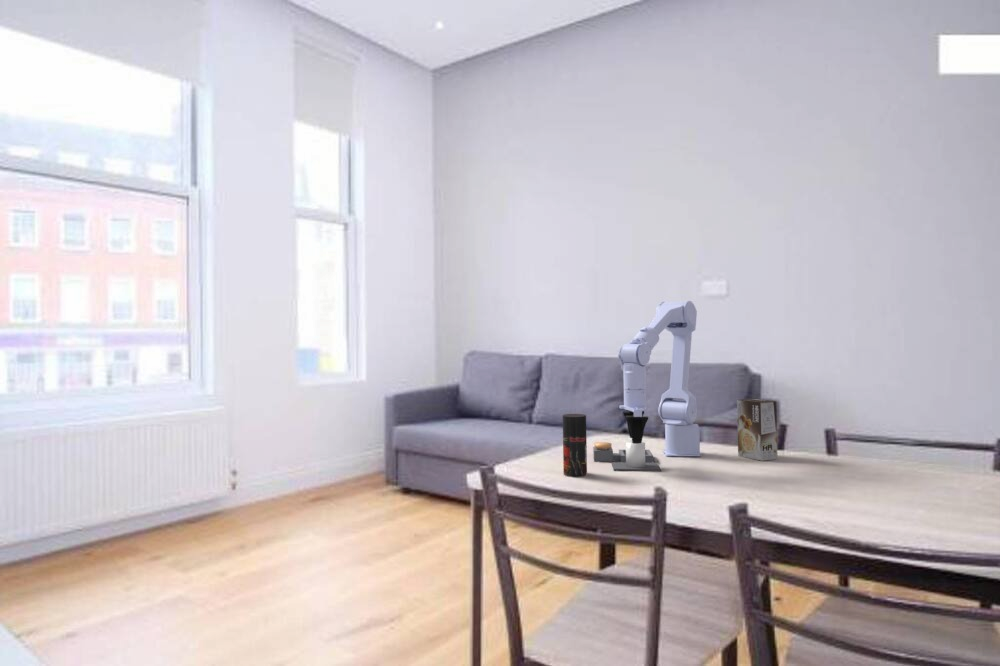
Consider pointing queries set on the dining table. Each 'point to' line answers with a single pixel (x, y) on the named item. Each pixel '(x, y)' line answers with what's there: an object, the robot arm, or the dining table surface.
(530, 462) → the dining table surface
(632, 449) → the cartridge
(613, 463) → the mat
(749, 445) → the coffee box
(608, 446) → the plunger
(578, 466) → the deodorant
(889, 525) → the dining table surface
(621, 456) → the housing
